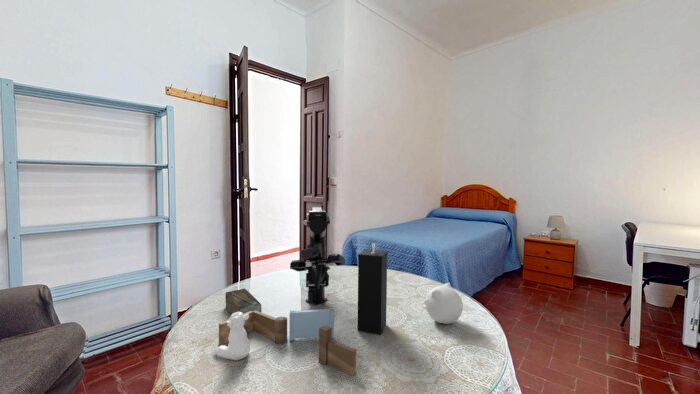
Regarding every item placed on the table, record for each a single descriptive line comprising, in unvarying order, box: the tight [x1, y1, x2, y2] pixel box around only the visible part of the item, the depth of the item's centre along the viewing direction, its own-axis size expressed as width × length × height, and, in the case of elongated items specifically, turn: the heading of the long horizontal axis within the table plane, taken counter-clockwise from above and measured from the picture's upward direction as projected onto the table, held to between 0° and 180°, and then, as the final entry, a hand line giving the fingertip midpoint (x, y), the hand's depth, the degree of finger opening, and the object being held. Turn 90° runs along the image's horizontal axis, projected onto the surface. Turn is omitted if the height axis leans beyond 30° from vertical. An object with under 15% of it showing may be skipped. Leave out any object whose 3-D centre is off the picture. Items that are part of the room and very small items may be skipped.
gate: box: [288, 308, 335, 341], centre depth 91 cm, size 13×2×8 cm, turn 97°
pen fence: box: [218, 310, 357, 376], centre depth 82 cm, size 14×40×9 cm, turn 55°
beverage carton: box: [225, 288, 263, 315], centre depth 109 cm, size 8×19×6 cm, turn 36°
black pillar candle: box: [357, 242, 388, 335], centre depth 98 cm, size 8×8×28 cm
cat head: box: [420, 282, 464, 325], centre depth 103 cm, size 15×13×12 cm
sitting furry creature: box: [214, 312, 251, 361], centre depth 82 cm, size 10×9×12 cm
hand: (317, 288), depth 101 cm, fingers closed
